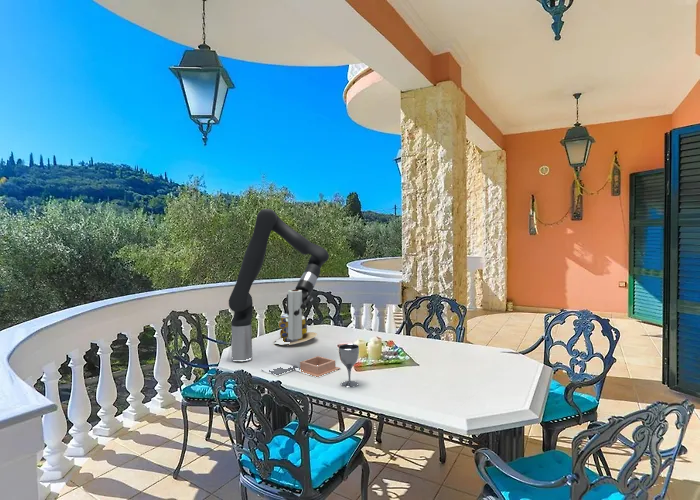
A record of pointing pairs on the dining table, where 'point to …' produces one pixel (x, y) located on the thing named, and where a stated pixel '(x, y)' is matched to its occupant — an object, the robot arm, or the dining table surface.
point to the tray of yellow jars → (284, 332)
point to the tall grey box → (293, 320)
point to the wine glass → (349, 360)
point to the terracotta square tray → (322, 368)
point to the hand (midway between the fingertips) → (291, 314)
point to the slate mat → (282, 370)
